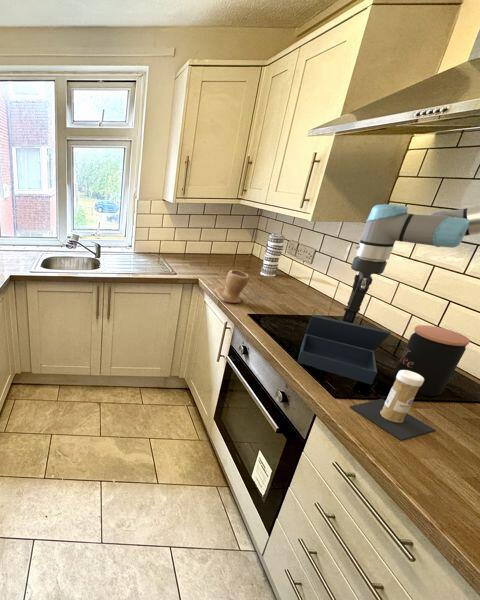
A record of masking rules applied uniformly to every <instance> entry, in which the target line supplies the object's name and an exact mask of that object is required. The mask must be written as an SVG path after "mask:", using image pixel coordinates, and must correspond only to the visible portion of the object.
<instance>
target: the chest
mask: <svg viewBox="0 0 480 600" xmlns="http://www.w3.org/2000/svg"><path fill="white" fill-rule="evenodd" d="M297 364H301V365H303V364H305V365H304V366H307V365H308V366H307V367H310V366H312V367H311V368H313V367H314V368H313V369H317V370H320V371H323V372H327V373H330V374H334V375H337V376H340V377H344V378H347V379H351V380H353V381H358V382H360V383H364V384H367V385H372V386H373V383H374V381H375V378H376V375H377V374H378V368H377V363H376V356H375V350H374V351H372V350H368V349H364V348H360V347H356V346H352V345H348V344H344V343H340V342H336V341H332V340H328V339H324V338H320V337H316V336H312V335H308V334H305V333H304V337H303V339H302V343H301V346H300V350H299V354H298V358H297Z"/></svg>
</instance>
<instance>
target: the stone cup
mask: <svg viewBox="0 0 480 600" xmlns="http://www.w3.org/2000/svg"><path fill="white" fill-rule="evenodd" d="M249 281H250V275H249V274H248V273H246V272H244V271H242V270H239V269H231V270H229V271H228V273H227V275H226V277H225V287H216V288H214V292H215V293H216V295H217V296H218V297H219V298H220V300H222V301H223V302H225V303H230V304H231V303H232V304H240V303H241V302H242V299H241V297H240V294H241V293H242V291H243V290H244V289H245V288H246V286H247V284H248V283H249Z"/></svg>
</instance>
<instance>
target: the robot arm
mask: <svg viewBox="0 0 480 600" xmlns="http://www.w3.org/2000/svg"><path fill="white" fill-rule="evenodd" d="M408 209H409V208H408V206H406V205H401V204H400V205H399V204H385V203H382V204H376V205H374V206H373V207H372V208H371V211H370V213H369V214H368V217H367V219H366V221H365V225H364V228H363V232H362V234H361V237H360V241H359V244H358V245H355V246H354V249H356V252H355V257H354V258H353V260H352V263H351V266H350V268H351V270H352V271H355V272H359V273H358V274H355V275H354V278H353V280H354V281H353V283H352V290H351V293H350V295H349V297H348V298H349V299H348V301H347V305H346V307H344V309H343V310H344V314H343V316H342V319H341V321H344V322H349V323H353V324H354V321H355V319H356V317H357V314H358V313H359V312H360V311H361V306H362V305H363V302H364V299H365V297H366V294H367V293H368V291H369V289H370V286H371V285H372V283H373V277H372V275H381V274H383V273H384V271H385V269H386V266H387V264H388V262H387V261H388V260H389V259H390V257H391V254H392V252H393V249H394V245H395V243H396V242H400V243H401V242H402V243H410V244H417V245H423V246H424V245H425V246H433V247H436V248H457V247H459V246H460V245H461V243H462V241H463V239H464V238H465V237H467V236H472V235H479V234H480V205H475V206H469V207H467V208H466V207H465V208H458V209H454V210H447V211H446V210H445V211H438V212H435V213H432V214H430V215H429V214H414V213H410V212H409V213H408Z"/></svg>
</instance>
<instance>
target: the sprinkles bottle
mask: <svg viewBox="0 0 480 600" xmlns="http://www.w3.org/2000/svg"><path fill="white" fill-rule="evenodd" d="M423 382H424V378H423V377H422V376H421V375H419V374H417V373H415V372H412V371H408V370H400V371H399V372H398V374H397V376H396V381H395V380H394V382H393V385H392V387H391V388H390V390H389V393H388V395H387V397H386V399H385V404H384V407H383V409H382V410H381V411H380V414H381V415H382V417H384V418H385V419H387V420H389V421H391V422H395V423H402V422H403V419H404V417H405V415H406V413H408V412H409V410H410V408H411V406H412V404H413V402H414V400H415V398H416V395H417V391H418V389H419V387H420V386H421V385H422V384H423Z"/></svg>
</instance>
